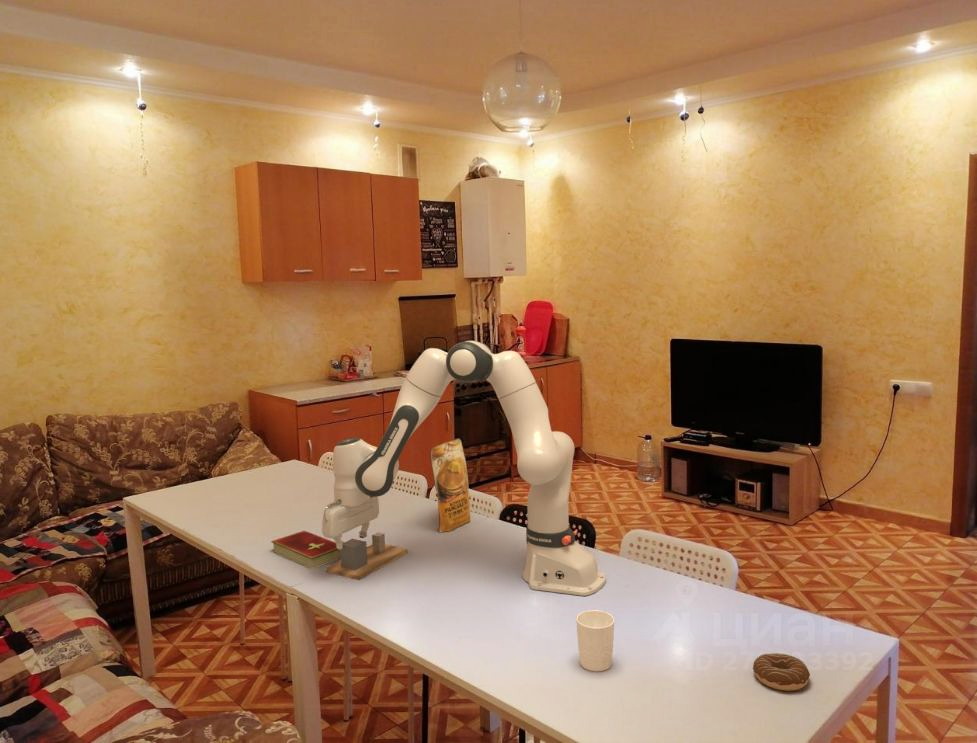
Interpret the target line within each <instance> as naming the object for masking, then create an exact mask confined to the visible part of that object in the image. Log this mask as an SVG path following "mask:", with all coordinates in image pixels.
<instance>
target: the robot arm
mask: <svg viewBox="0 0 977 743" xmlns="http://www.w3.org/2000/svg"><path fill="white" fill-rule="evenodd" d="M453 380H457V381H458V382H462V383H475V382H481V381H487V382H488V383H490V385H491V386H492V388H493V390H494V392H495V394H496V396H497V398H498V401H499V403H500V405H501V408H502V410H503V412H504V415H505V417H506V419H507V421H508V424H509V427H510V430H511V433H512V438H513V441H514V447H515V451H516V455H517V465H516V466H517V471H518V474H519V476H520V477H521V478H522V480H524V481H525V482H526V483H527V484H530V488H529V491H528V495H527V501H526V502H527V504H526V506H527V525H526V528H525V529H526V530H525V532H526V533H525V534H526V536H525V537H526V538H525V539H526V540H525V541H526V545H527V550H526V558H525V565H524V569H523V572H522V578H523V579H524V581H525V582H526V583H528V584H529V588H530V589H531V590H534V591H536V590H537V591H542V592H543V591H544V592H553V593H560V594H568V595H575V596H584V597H585V596H589V595H592V594H594V593H597V592H598V591H599V590H600V589H601V588H603V587H604V586H605V584H606V581H607V578H606V574H605V572H601V571H599V569H598V564H597V560H596V558H595V556H594V555H593V554H592V553H590V552H589V551H588V550H587V549H585V547H583V546H582V545H581V544H580V543H579V542H578V541H577V540H576V535H577V534H578V529H575V530H574V531H573V530H572V528H571V526H570V524H569V519H570V518H569V512H570V510H569V502H570V500H569V498H570V489H571V481H572V475H573V474H572V473H573V465H574V464H573V460H574V456H575V444H574V441H573V440H572V438H571V437H570V436H569V435H568V434H567V433H565V432H563V431H555V430H554V431H553V430H552V427H551V424H550V418H549V407H548V406H547V403H546V401H545V399H544V397H543V394H542V392H541V390H540V388H539V386H538V383H537V382H536V379H535V377H534V375H533V373H532V371H531V369H530V367H529V365H528V364H527V363H526V361H525V360H524V359H523V357H522V356H521V354H519V353H518V352H517V351H514V350H505V351H504V350H503V351H501V352H498V353H494V352H493V350H492V349H491V348H490V347H489V345H487V344H485V343H484V342H480V341H476V340H465V341H460V342H458V343H455V345H453V346H452V347H451V348H450V349H449V350H448V352H446V351H444V350H442V349H440V348H436V347H435V348H434V347H430V348H427V349H425V350H424V351H423V352H422V353H421V354H420V355H419V357H418V358H417V359H416V360H415V362H414V363H413V365H412V366H411V368H410V370H409V371H408V373H407V375H406V377H405V378H404V380H403V382H402V385H401V388H400V390H399V391H398V392H399V393H398V396H397V398H396V401H395V406H394V409H393V413H392V416H391V420H390V423H389V425H388V427H387V429H386V431H385V433H384V434H383V436H382V437H381V440H380V442H379V443H378V446H374V445H371V444H369V443H368V442H366V441H364V440H363V439H362V438H360V437H350V438H346V439H342V440H341V441H339V442H338V443H337V444H336V445H335V447H333V455H332V470H333V471H332V472H333V475H334V482H333V496H334V497H333V499H334V501H333V502H332V503H328V504H327V505H326V507H325V509H323V514H322V515H323V516H322V524H321V533H322V535H323V536H324V537H325V538H327V539H328V538H329V539H333V540H334V542H335V543H336V547H337V549H343V548H344V547H345V542H346V541H343V540H342V539H341V538H343V535H344V534H345V533H347V532H350V531H352V530H355V529H357V528H358V527H360V526H361V529H360V531H358V534H359V535H358V536H359V537H358V538H360V539H365V538H367V537H368V530H369V527H370V522H371V521H374V520H376V519H378V517H379V514H380V502H379V497H382V496H384V495H385V494H387V493H388V492H389V491H390V489H391V488H392V486H393V484H394V483H393V482H394V481H395V478H396V476H397V475H398V472H399V469H400V460H399V457H400V456H401V454H402V452H403V450H404V448H405V447H406V445H407V442H408V441H409V440H410V438H411V436H412V435H413V433H414V432H415V431H416V430H417V429H418V428H419V426H420V425H421V424H422V423H423V422H424V421H426V418H428V416H429V415H430V414H431V413H432V412H433V411H434V410H435V407H436V406H437V405H438V403H439V401H440V400H441V398H442V396H443V394H444V392H445V390H447V389H446V388H447V387H448V385H449V384H450V383H451V381H453Z"/></svg>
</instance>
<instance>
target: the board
mask: <svg viewBox="0 0 977 743" xmlns="http://www.w3.org/2000/svg"><path fill="white" fill-rule="evenodd" d="M408 551H409V550H408V548H406V547H401V546H396V545H392V544H386V543H385V552H383V553H382V554H376V553H373V545H372V544H369V545H368V546H367V564H366V565H364V566H363V567H361V568H359V569H357V570H351V569H347V568H343V567H341V560H339V561H337V562H334V563H333V564H331V565H329V566H327V567H326V573H329V574H333V575H337V576H342V577H345V578H349V579H353V580H358V581H360V580H362V579H364V578H365V577H367V576H369V575H371V574H372V573H374V572H377V571H378V570H380V569H381V568H384V567H385V566H386V565H389V564H390V563H392V562H394V561H396V560H397V559H399V558H401V557H403V556H404V555H406V554H408V553H409V552H408Z"/></svg>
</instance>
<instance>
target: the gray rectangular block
mask: <svg viewBox="0 0 977 743" xmlns="http://www.w3.org/2000/svg"><path fill="white" fill-rule="evenodd" d="M344 542H345V547H344V548H343V549H340V554H341V558H340V561H341V567H343V568H347V569H351V570H357V569H359V568H361V567H363V566H364V565H366V564H367V547H368V546H367V545H368V544H367V541H364V540H361V539H356V538H351V539H349V540H347V541H344Z"/></svg>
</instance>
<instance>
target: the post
mask: <svg viewBox="0 0 977 743" xmlns="http://www.w3.org/2000/svg"><path fill="white" fill-rule="evenodd" d="M385 535H386V534H385V533H383V532H375V533H373V534H372V535H371V540H372V542H371V543H372V544H371V545H373V553H376V554H382V553H383V552H385V544H386V540H385Z"/></svg>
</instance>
